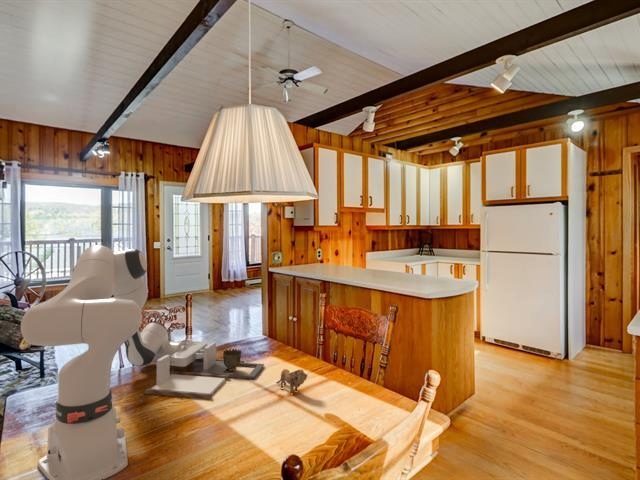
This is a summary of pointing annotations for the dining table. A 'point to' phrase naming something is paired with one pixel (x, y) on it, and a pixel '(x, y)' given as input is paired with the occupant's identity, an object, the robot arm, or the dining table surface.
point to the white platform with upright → (183, 380)
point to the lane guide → (184, 393)
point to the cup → (232, 359)
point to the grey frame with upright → (219, 368)
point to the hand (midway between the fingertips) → (208, 355)
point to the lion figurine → (292, 378)
